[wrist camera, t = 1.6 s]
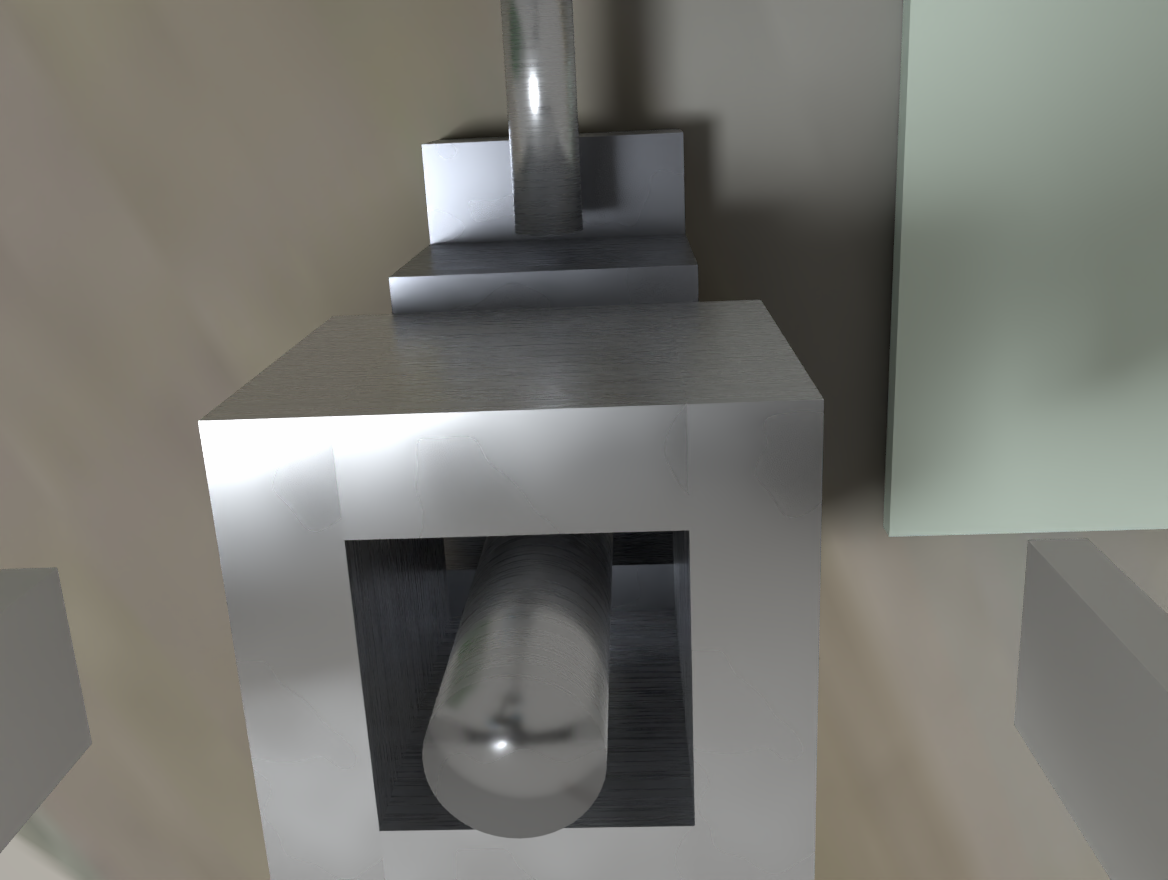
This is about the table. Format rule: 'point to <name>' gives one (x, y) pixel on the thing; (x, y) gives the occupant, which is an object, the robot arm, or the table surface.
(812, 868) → the grey hollow block
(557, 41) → the vise
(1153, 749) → the robot arm
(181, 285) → the table surface
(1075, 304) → the mat
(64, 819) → the table surface
